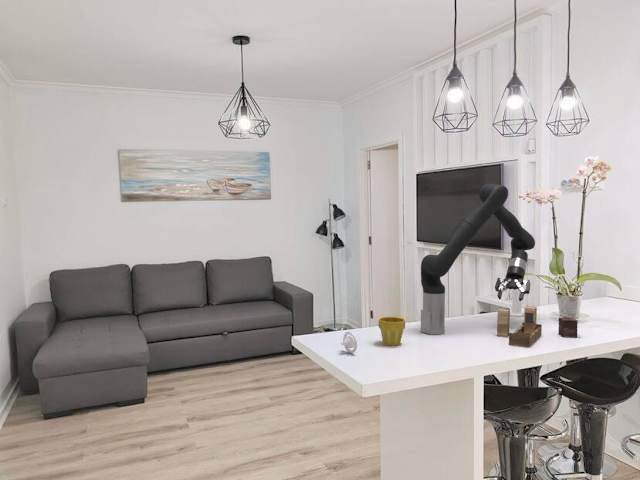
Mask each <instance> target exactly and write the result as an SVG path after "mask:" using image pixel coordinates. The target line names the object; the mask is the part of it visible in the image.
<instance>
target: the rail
mask: <svg viewBox="0 0 640 480" xmlns="http://www.w3.org/2000/svg"><path fill="white" fill-rule="evenodd" d="M523 311H524V313H523V314H524V316H523V322H522V325H521V326H520V327H518V328H516V330H515V331H514V332H509V336H508V345H509V346H514V347H521V348H526V349H527V348H529V349H530V348H531V347H532V346H533V344H535V343H536V342H537V340H539V339H540V337H541V336H542V330H543V327H542V326H543V325H542V324H541V323H537V315H538V314H537V311H538V309H537V306H529V305H527V306H524V310H523Z"/></svg>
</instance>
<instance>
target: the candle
mask: <svg viewBox="0 0 640 480" xmlns="http://www.w3.org/2000/svg"><path fill="white" fill-rule="evenodd" d="M519 295H520V291H519V290H518V289H516V290H514V289H511V312H510V317H516V318H519V317H520V318H521V317H523V318H524V313H522V301H523V300H521V301H519Z"/></svg>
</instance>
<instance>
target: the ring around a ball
mask: <svg viewBox="0 0 640 480" xmlns="http://www.w3.org/2000/svg"><path fill="white" fill-rule="evenodd" d="M348 335H349V336H348ZM342 338H343V339H342V342H341V343H340V344H341V345H343V346H344V348H345V351H346V352H347V353H349V354H353V353H355V352H356V351H357V349H358V339H357V336H356V335H355V333H354V332H353V331H350V330H348V331H345V333H344V335H343V337H342Z"/></svg>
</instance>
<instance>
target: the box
mask: <svg viewBox="0 0 640 480" xmlns="http://www.w3.org/2000/svg"><path fill="white" fill-rule="evenodd" d="M557 333H558V335H559V336H561V337H562V338H575V339H576V338H578V320H577V319H576V318H575V317H572V316H571V317H570V316H569V317H567V316H566V317H565V316H560V317H558V332H557Z"/></svg>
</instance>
